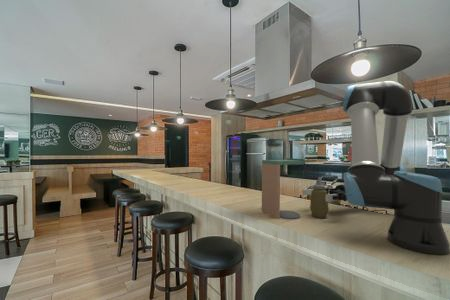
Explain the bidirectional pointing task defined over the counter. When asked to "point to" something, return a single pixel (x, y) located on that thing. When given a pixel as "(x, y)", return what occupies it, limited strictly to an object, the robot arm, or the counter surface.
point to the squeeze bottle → (319, 200)
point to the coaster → (289, 214)
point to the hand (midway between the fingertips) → (314, 195)
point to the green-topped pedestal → (273, 185)
